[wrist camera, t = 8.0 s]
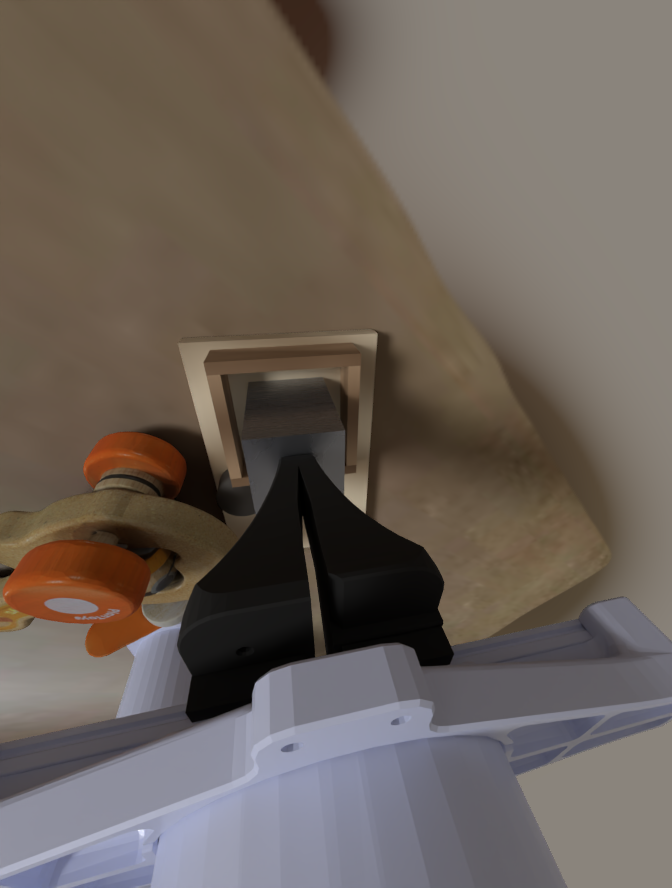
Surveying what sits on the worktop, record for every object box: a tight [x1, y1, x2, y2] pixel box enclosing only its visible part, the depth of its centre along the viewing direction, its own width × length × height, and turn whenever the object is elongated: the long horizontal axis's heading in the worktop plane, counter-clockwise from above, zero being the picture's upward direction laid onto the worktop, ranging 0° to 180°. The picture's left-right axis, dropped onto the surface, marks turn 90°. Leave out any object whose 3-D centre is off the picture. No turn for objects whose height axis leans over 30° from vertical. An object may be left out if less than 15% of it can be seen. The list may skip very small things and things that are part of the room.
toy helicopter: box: [0, 432, 239, 657], centre depth 20 cm, size 8×21×14 cm
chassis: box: [178, 329, 378, 548], centre depth 20 cm, size 16×10×3 cm, turn 1°
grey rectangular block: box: [241, 377, 345, 514], centre depth 16 cm, size 4×4×6 cm
